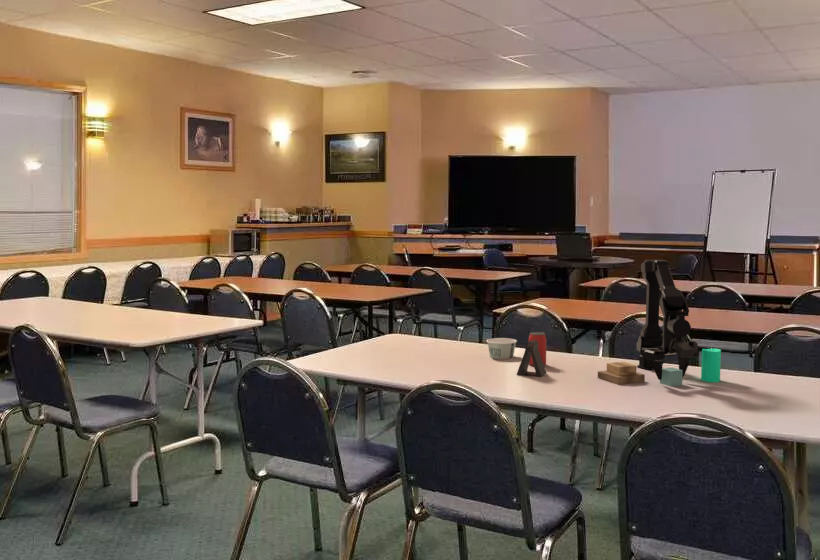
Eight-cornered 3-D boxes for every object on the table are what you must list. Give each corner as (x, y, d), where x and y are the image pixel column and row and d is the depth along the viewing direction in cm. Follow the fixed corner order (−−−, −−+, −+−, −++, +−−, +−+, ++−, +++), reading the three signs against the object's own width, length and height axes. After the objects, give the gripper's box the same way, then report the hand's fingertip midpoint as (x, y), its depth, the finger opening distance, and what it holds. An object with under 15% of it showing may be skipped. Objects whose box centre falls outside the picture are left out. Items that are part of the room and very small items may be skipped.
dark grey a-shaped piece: (546, 374, 278) (546, 340, 277) (541, 377, 272) (541, 343, 271) (522, 371, 282) (522, 338, 281) (516, 375, 277) (516, 341, 275)
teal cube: (671, 382, 264) (672, 367, 264) (682, 385, 259) (682, 370, 259) (659, 383, 262) (660, 368, 262) (670, 386, 257) (670, 371, 257)
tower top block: (624, 370, 272) (624, 361, 271) (636, 374, 265) (636, 365, 265) (606, 371, 269) (606, 363, 269) (618, 376, 263) (618, 367, 262)
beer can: (545, 366, 290) (546, 334, 289) (527, 366, 292) (528, 334, 291) (546, 363, 297) (546, 331, 296) (528, 362, 298) (529, 331, 297)
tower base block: (623, 377, 275) (623, 368, 274) (644, 383, 265) (644, 374, 264) (597, 379, 270) (597, 371, 270) (617, 386, 260) (618, 377, 260)
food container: (521, 355, 313) (521, 339, 313) (509, 360, 303) (509, 343, 302) (494, 353, 319) (494, 337, 319) (481, 357, 309) (481, 341, 308)
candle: (719, 379, 268) (720, 344, 267) (720, 382, 262) (721, 347, 261) (700, 377, 270) (701, 343, 269) (701, 381, 264) (702, 346, 263)
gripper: (666, 337, 248) (665, 386, 250) (712, 333, 255) (710, 380, 257) (642, 332, 259) (642, 379, 260) (687, 328, 266) (686, 374, 267)
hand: (670, 378), depth 261 cm, fingers open, 9 cm apart
